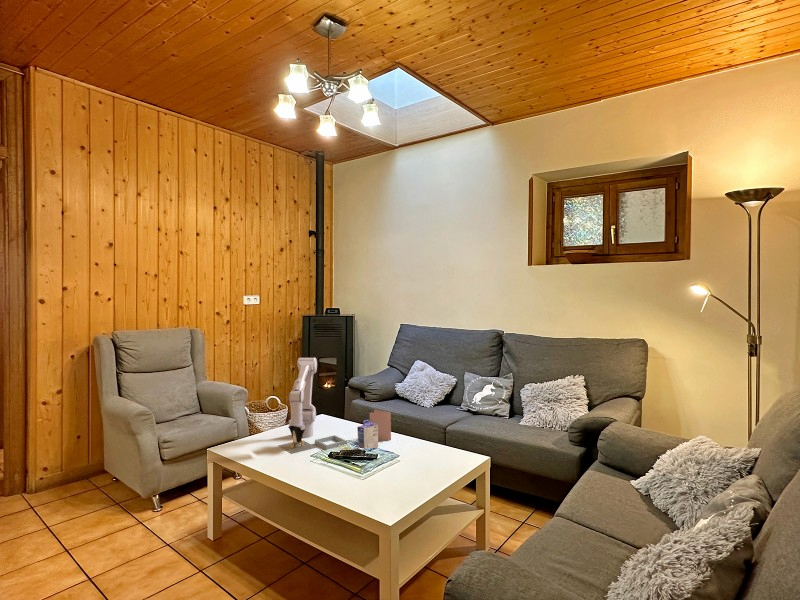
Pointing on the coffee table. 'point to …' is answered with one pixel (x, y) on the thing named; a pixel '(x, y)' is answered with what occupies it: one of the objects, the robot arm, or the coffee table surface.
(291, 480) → the coffee table surface
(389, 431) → the greeting card
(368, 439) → the ink cartridge box
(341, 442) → the parts tray
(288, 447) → the flat gray square panel
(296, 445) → the led light bulb
